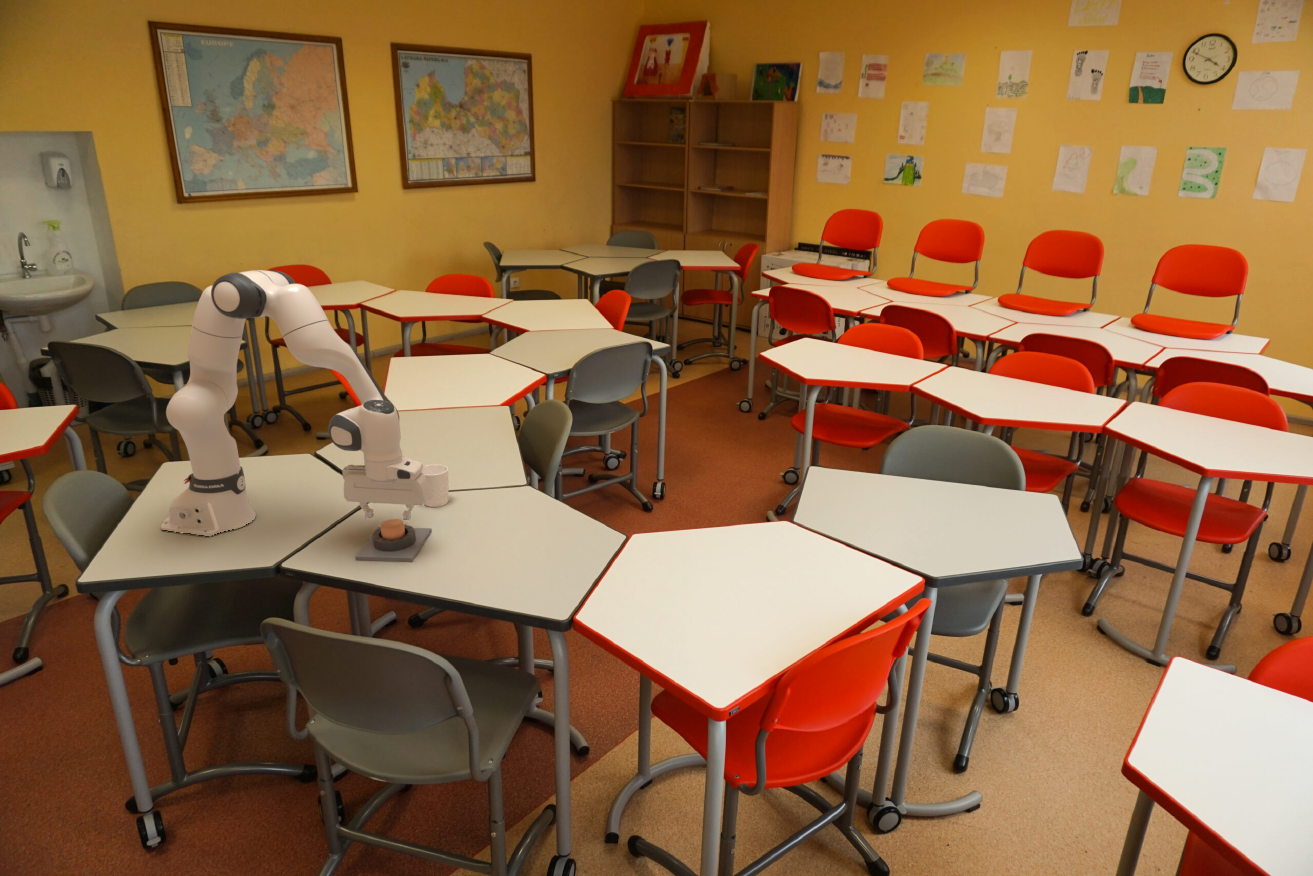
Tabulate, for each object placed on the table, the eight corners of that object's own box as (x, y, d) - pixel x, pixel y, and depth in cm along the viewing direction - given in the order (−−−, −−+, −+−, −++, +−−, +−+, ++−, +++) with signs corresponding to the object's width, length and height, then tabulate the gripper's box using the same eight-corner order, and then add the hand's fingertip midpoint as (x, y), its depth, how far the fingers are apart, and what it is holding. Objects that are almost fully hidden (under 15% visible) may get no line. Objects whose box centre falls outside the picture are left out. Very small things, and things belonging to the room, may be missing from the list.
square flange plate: (355, 560, 197) (353, 547, 196) (378, 530, 212) (377, 518, 211) (412, 561, 197) (411, 549, 196) (431, 531, 212) (430, 519, 210)
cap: (379, 546, 202) (377, 528, 200) (387, 536, 207) (384, 518, 205) (401, 547, 201) (399, 529, 200) (408, 536, 207) (406, 519, 205)
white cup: (434, 510, 224) (430, 477, 220) (416, 503, 228) (412, 470, 224) (456, 501, 229) (453, 468, 226) (438, 494, 234) (435, 462, 230)
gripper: (336, 469, 194) (342, 521, 199) (421, 473, 193) (424, 525, 198) (347, 459, 200) (352, 510, 205) (429, 463, 199) (432, 514, 204)
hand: (388, 518), depth 201 cm, fingers open, 8 cm apart
